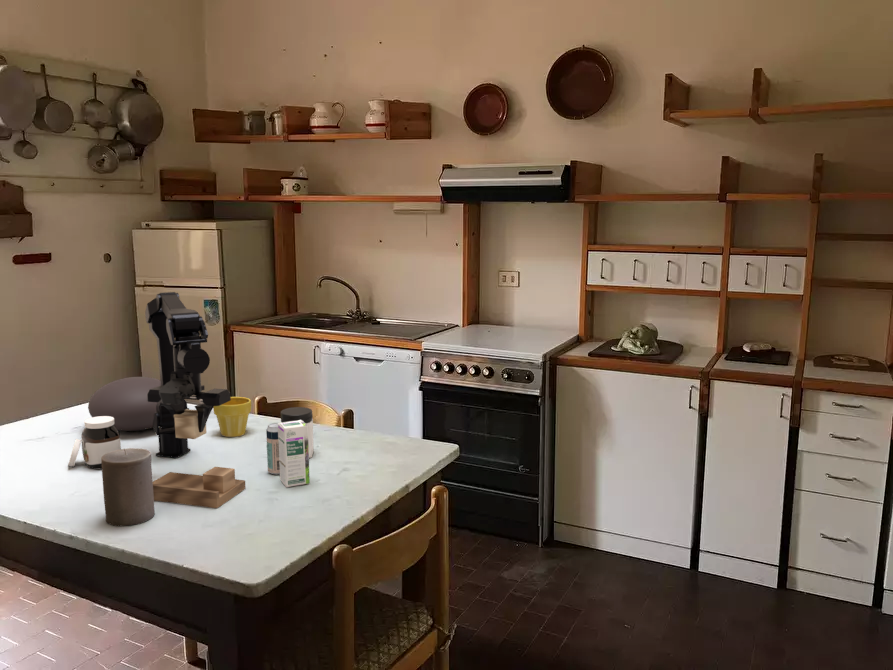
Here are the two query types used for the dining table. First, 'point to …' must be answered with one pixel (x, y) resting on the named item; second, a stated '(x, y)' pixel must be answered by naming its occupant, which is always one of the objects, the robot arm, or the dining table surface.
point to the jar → (305, 416)
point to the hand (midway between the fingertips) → (190, 431)
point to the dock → (191, 490)
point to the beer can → (273, 449)
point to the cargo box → (219, 479)
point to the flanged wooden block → (188, 425)
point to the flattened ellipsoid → (126, 403)
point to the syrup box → (293, 453)
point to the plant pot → (233, 416)
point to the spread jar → (96, 441)
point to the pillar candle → (127, 486)
